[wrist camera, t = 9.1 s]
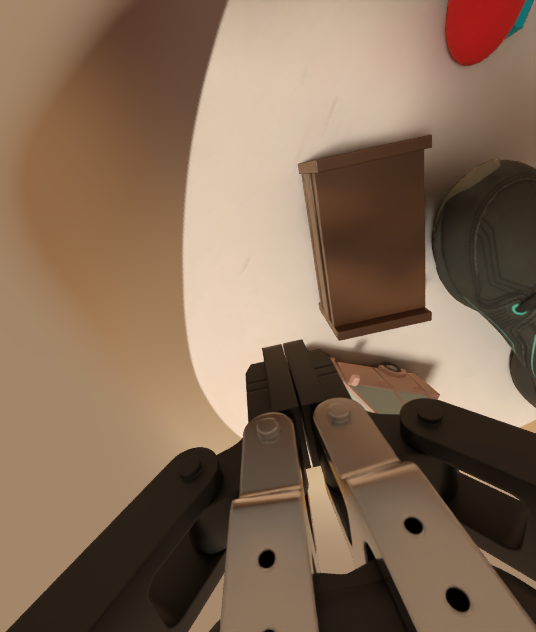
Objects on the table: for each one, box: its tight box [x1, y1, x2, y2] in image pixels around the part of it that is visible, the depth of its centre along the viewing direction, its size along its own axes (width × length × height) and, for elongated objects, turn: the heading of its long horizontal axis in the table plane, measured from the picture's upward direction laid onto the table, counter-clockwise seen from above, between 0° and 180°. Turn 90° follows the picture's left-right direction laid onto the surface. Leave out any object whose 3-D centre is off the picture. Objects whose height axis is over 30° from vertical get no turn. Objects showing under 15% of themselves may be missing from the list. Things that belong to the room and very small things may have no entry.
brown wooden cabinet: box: [298, 135, 432, 341], centre depth 28 cm, size 14×8×7 cm, turn 12°
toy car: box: [331, 357, 440, 414], centre depth 33 cm, size 9×15×10 cm, turn 77°
